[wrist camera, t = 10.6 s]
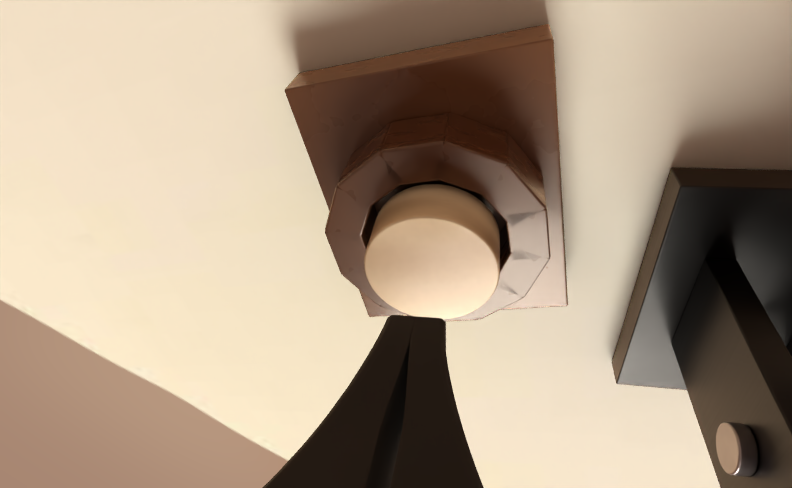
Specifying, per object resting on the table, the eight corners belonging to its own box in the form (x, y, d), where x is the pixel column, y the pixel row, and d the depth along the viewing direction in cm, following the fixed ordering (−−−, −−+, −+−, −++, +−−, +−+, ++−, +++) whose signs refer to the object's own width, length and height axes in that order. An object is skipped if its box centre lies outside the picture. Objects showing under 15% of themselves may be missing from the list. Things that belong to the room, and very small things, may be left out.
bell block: (564, 280, 20) (574, 347, 18) (375, 292, 23) (358, 354, 20) (549, 23, 15) (560, 64, 12) (298, 73, 17) (259, 116, 14)
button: (506, 278, 17) (506, 316, 16) (391, 287, 18) (382, 323, 17) (491, 175, 15) (490, 209, 13) (359, 191, 16) (346, 224, 14)
